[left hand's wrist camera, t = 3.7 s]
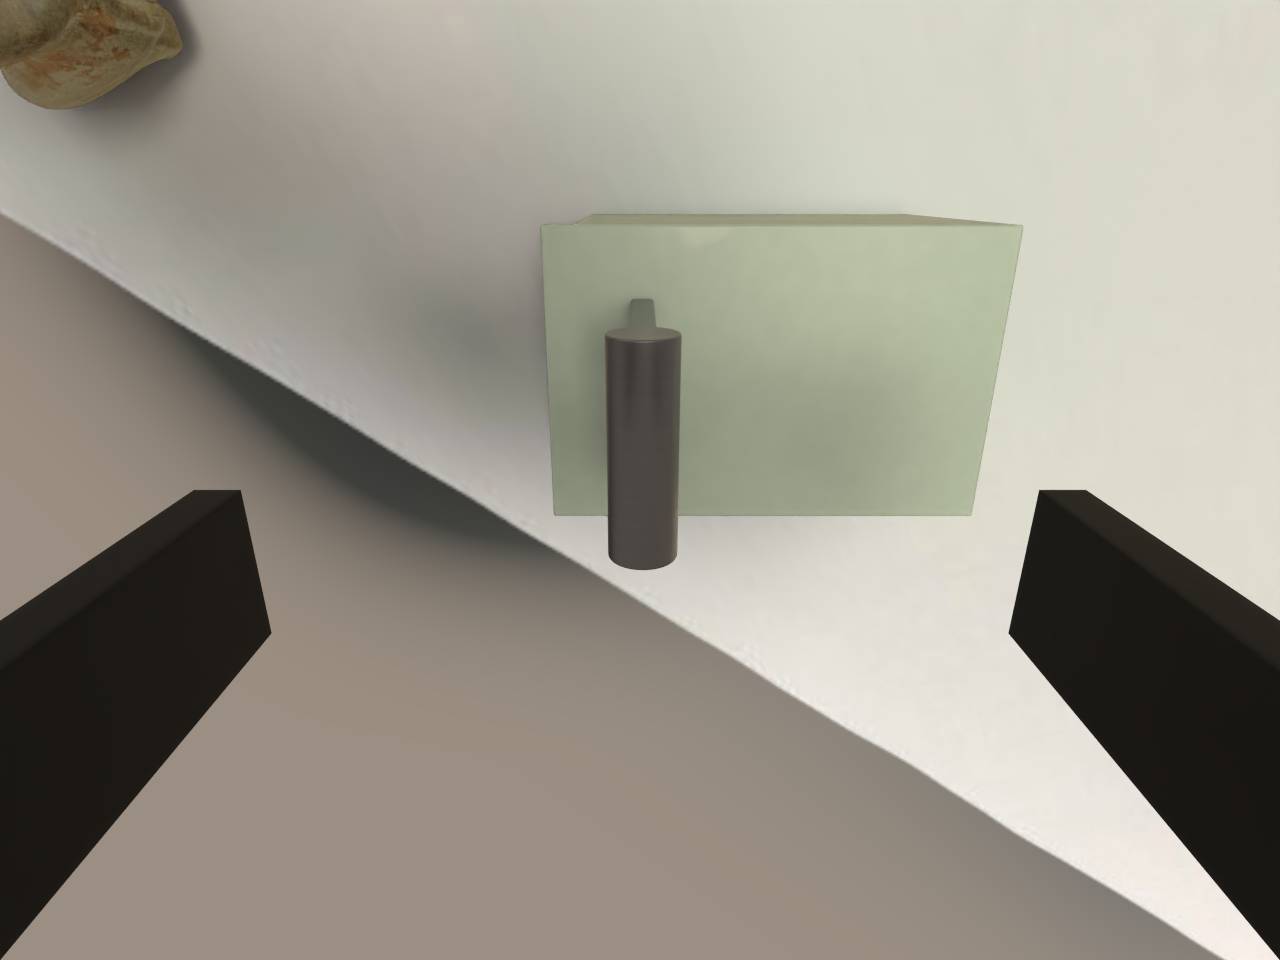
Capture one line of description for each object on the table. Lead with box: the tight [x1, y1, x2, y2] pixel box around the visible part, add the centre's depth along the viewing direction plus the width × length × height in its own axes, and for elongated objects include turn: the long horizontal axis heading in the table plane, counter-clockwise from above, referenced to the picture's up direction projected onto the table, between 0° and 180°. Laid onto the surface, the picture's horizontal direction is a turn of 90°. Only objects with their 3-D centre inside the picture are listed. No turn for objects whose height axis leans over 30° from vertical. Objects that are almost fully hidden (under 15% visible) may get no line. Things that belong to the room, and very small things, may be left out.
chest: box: [575, 215, 1003, 224], centre depth 29 cm, size 14×10×9 cm
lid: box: [541, 224, 1023, 570], centre depth 21 cm, size 15×10×8 cm, turn 90°
